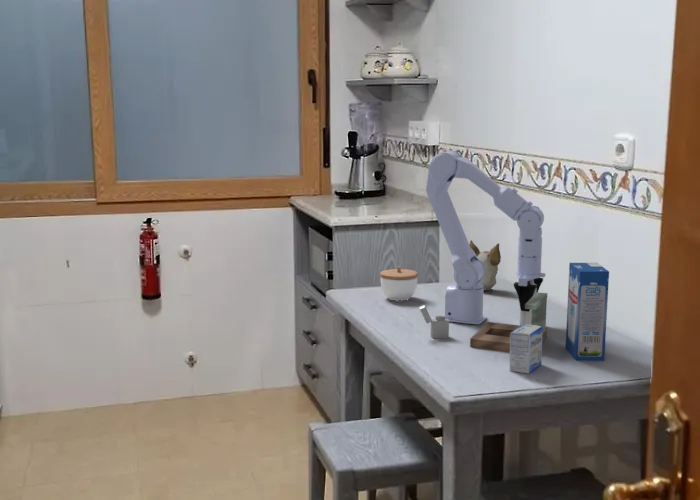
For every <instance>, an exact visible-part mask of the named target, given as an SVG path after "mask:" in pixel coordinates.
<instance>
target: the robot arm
mask: <svg viewBox="0 0 700 500" xmlns="http://www.w3.org/2000/svg"><path fill="white" fill-rule="evenodd" d="M427 170H428V174H427V179H426V180H427V181H426V187H425V191H426V192H425V193H426V195H427V197H428V200H429V201H430V202H429V203H430V204H431V207H432V210H433V212H434V215H435V217H436V219H437V222H438V225H439V227H440V229H441V232H442V234H443V237H444V238H445V241H446V244H447V247H448V249H449V251H450V253H451V265H452V266H453V267H452V268H453V270H454V271H453V278H454V281H455V284H450V285H448V286H447V287H446V290H445V296H444V298H445V299H444V300H445V301H444V316H445V319H448V320H449V323H450V322H451V323H453V322H454V323H461V324H469V325H470V324H471V325H481V324H482V323H483V322H484V321H485V320H486V319H487V318H488V316H487V315H484V311H483V310H484V289H483V286H484V285H483V284H482V282H481V279H482V278H483V276H484V274H485V267H484V264H483V263H482V262H481V261H480V260H479V259H478V258H477V256H476V254H475V252H474V251H473V250H472V249H471V247H470V245H469V244H470V242H469V241H468V239H467V236H466V234H465V231H464V228H463V226H462V224H461V221H460V218H459V216H458V214H457V211H456V208H455V206H454V204H453V201H452V200H451V196H450V193H449V192H448V191H449V188H450V186H451V183H453V180H454V178H455V179H465V180H468V181H470V182H471V183H472V184H474V185H475V186H477V187H478V188H479V189H481V190H482V191H484V192H485V193H487V194H488V195H489V196H490V197H492V198H493V205H494V206H495V207H496V208H498V209H499V210H500V211H501V212H502V213H504V214H505V215H506V216H507V217H509V218H510V219H511V220H513V221H516V223H517V227H518V228H519V235H518V247H517V248H518V251H517V272H516V277H517V278H518V281H515V282H514V283H513V287H514V289H515V291H516V294H517V298H518V303H519V310H520V309H521V311H527V312H529V311H530V309H525V304H526V303H527V302H528V301H529V300H530V299H531V298H532V297H533V295H534V292H535V289H536V288H537V292H538V293H539V290H540V288H541V285H542V284H543V282H544V278H545V277H546V273H544V272H542V255H543V254H542V253H543V251H542V250H543V248H542V247H543V237H542V234H543V229H542V226H543V224H544V221H545V215H544V213H543V211H542V210H541V208H540V207H539V206H536V205H533V202H532V201H527V200H526V199H525V198H523V197H522V196H521V195H520V194H519V193H518V189H516V188H514V187H513V188H511V187H510V186H507V187H502V186H500V185H499V184H498V183H497V182H495V181H494V180H493V179H492V178H491V177H490V176H489V175H488V174H486V173H485V172H484V171H483V170H482V169H480V168H479V167H478V166H477V165H476V164H475V163H473V162H472V161H471V160H470V159H469V158H467V157H466V156H462V155H461V154H460V152H458V151H457V150H446V151H444V152H443V151H442V152H439V153H437V154H436V155H434V156H433V158H432V159H431V160H430V162H429V165H428V166H427ZM532 279H533V280H534V283H535V284H536V285H531V283H530V280H532ZM537 292H536V293H537Z"/></svg>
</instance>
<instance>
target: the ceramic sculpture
mask: <svg viewBox="0 0 700 500" xmlns="http://www.w3.org/2000/svg"><path fill="white" fill-rule="evenodd" d="M469 245H470V247H471V249H472V250H473V251H474V252H475V254H476V256H477V258H478V259H479V260H480V261H481V262H482V263H483V264H484V267H485V274H484V276H483V278H482V279H481V282H482V284H483V285H484V286H483V290H491V289H492V288H493V287H494V286H495V285H497V279H496V277H497V274H498V270H499V267H498V266H499V265H500V263H501V259H502V257H501V251H500V243H497V244H496V245H495V246H493V247H492V248H490V251H488V250H485V251H480V249H479V248H478V247H477V245H476V244H475V243H474V242H473V240H472V239H471V240H470V242H469Z"/></svg>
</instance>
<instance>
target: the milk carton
mask: <svg viewBox="0 0 700 500" xmlns="http://www.w3.org/2000/svg"><path fill="white" fill-rule="evenodd" d="M568 267H569V268H568V269H569V271H568V290H567V293H568V294H567V308H566V309H567V310H566V312H567V313H566V332H565V334H566V335H565V349H566V350H567V351H569V352H568V353H569V354H570V355H571V357H572V356H573V357H572V358H573V360H574V361H575V360H576V361H577V362H605V351H606V337H607V335H606V333H607V318H608V316H607V315H608V300H609V285H610V284H609V281H610V271H609V270H608V269H606V268H605V267H604V266H602V265H601V264H599V263H598V262H569V266H568ZM576 361H575V362H576Z"/></svg>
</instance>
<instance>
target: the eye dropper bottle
mask: <svg viewBox="0 0 700 500" xmlns="http://www.w3.org/2000/svg"><path fill="white" fill-rule="evenodd" d="M530 283H531V285H536V284H535V283H534V280H533V279H532V280H530ZM536 292H537V288H536V289H535V292H534V295H535V294H536ZM534 295H533V296H534ZM531 321H532V309H530V311H529V312H527V311H521V309H520V308H519V325H520V326H522V325H524V324H529V325H531Z"/></svg>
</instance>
